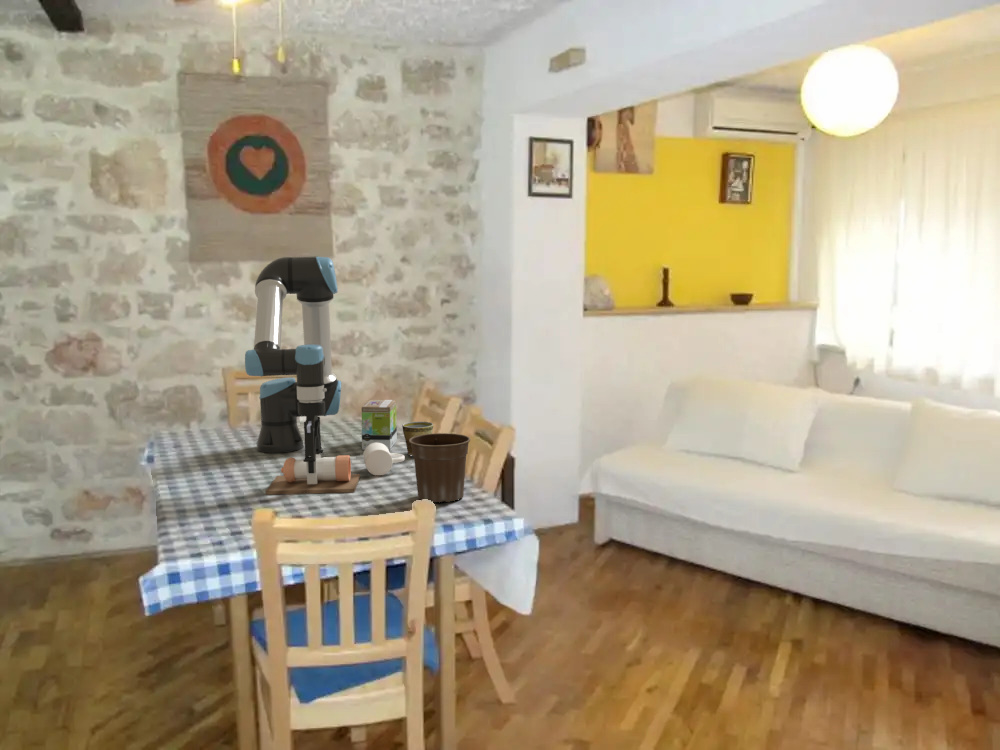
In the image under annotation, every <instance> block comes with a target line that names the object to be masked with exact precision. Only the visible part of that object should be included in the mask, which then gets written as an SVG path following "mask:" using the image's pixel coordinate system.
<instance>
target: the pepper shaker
mask: <svg viewBox="0 0 1000 750" xmlns="http://www.w3.org/2000/svg"><path fill="white" fill-rule="evenodd" d="M316 461H317V480H323V481H328V480H337V481H350V477H351V474H352V462H351V456H350V455H349V454H348V455H347V454H346V455H345V454H343V455H336V456H326V457H325V456H324V457H321V458H317V459H316ZM280 473H281V474H283V476H284V477H285V479H286V481H288V482H294V481H295V480H296V479H307V466H306V462H304V461H303V459H296V458H294V457H292V456H291V457H288V458H286V459H285V460H284V462H283V467H281V469H280Z"/></svg>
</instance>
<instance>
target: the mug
mask: <svg viewBox="0 0 1000 750" xmlns="http://www.w3.org/2000/svg"><path fill="white" fill-rule="evenodd" d="M362 455H363V461H364V464H365V468H366V470H367V471H368V472H369V473H370V474H371V475H373V476H376V475H382V476H385V475H386V474H388V473H389V472H390V471H391V470H392V467H393V465H394V464H397V463H402V462H404V461H405V460H406V459H405V458H406V457H405V455H404V454H402V453H395V452H394V453H393V452H390V450H388V448H387V447H386V446H385V445H384V444H382V443H372V444H370V445H368V446H367V447H366V449H365V450H363V453H362Z"/></svg>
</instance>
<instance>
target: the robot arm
mask: <svg viewBox="0 0 1000 750" xmlns="http://www.w3.org/2000/svg"><path fill="white" fill-rule="evenodd" d="M335 269H336V268H335V265H334V262H333V260H332V258H330V257H327V256H283V257H280V258H277V259H274V260H272V261H271V262H270V263H268V264H267V265H266V266H265V267H264V268H263V269H262V270H261V272H260V273H259V274H258V276H257V278H256V280H255V285H254V294H255V296H256V298H257V301H256V302H257V303H256V314H255V315H256V316H255V326H254V327H255V330H254V341H253V348H252V349H249V350H246V351H245V354H244V367H245V373H246V375H248V377H249V376H250V377H261V378H262V377H270V376H271V377H274V376H296V378H295V377H283V378H282V377H281V378H275V379H271V380H268V381H266V382H263V383H262V384H261V385H260V386H259V397H258V398H259V400H260V404H259V405H260V423H261V427H260V430H259V434H258V438H257V441H256V450H257V451H259V452H261V453H267V454H268V453H270V454H274V453H275V454H279V453H280V454H282V453H289V452H294V451H299V450H301V449H303V448H304V459H302V460H303V461H304V462H306V466H307V484H317V461H316V459H317V458H322V455H321V454H323V453H324V449H322V447H323V446H322V438H321V418H320V417H327V416H335V415H337V414H338V413H339V411H340V404H341V394H342V381H341V380H339V379H338V377H337V374H335V373H334V372H333V367H332V366H333V364H332V346H331V345H332V344H331V339H332V338H331V318H330V303H331V302H332V301H333V300H334V295H335V294H337V293H338V289H339V288H338V282H337V274H336V270H335ZM289 294H290V295H291V294H292V295H296V300H297V301H298V302H299V303H300V304H301V309H302V330H303V331H302V332H303V344H301V345H298V346H296V347H295V348H288V349H287V348H282V347H281V346H282V324H283V307H284V306H283V305H284V304H283V303H284V299H286V297H287V295H289ZM298 417H305V421H304V422H303V432H304V439H303V437H302V434H301V431H300V429H299V426H298Z"/></svg>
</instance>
